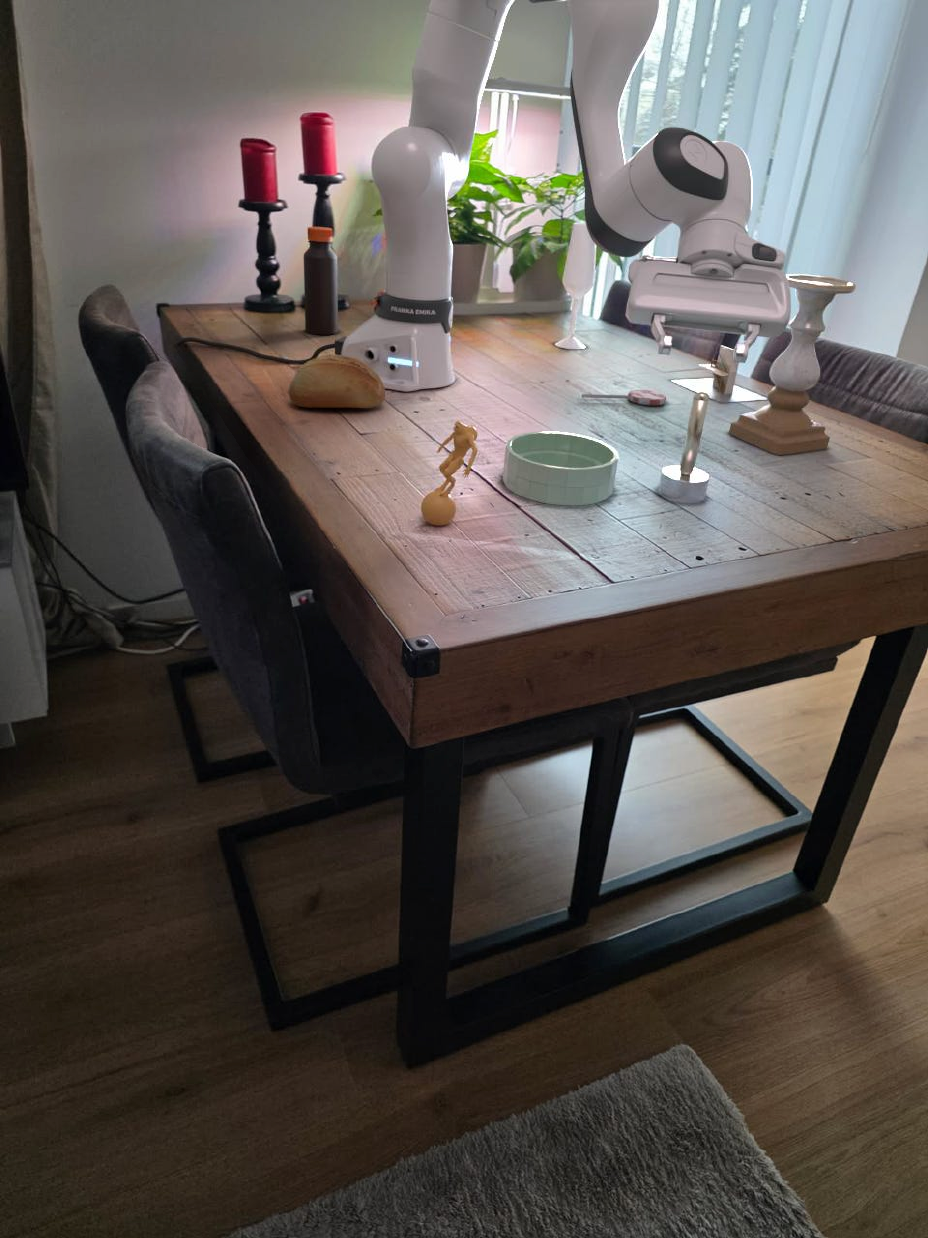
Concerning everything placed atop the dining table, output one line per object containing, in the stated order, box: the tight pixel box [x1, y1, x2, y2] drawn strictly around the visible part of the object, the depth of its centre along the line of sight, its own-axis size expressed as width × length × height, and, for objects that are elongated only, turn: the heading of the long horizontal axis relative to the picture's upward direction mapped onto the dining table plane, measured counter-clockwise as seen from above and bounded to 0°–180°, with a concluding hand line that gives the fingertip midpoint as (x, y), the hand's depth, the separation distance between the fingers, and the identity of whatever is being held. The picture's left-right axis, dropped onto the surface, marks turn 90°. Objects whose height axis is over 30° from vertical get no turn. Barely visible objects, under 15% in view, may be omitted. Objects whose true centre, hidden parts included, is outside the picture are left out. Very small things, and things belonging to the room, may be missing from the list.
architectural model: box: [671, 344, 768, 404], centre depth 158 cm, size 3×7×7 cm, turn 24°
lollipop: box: [581, 389, 667, 406], centre depth 148 cm, size 7×1×15 cm
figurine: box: [420, 420, 478, 527], centre depth 95 cm, size 8×6×12 cm
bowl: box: [502, 431, 619, 507], centre depth 110 cm, size 14×14×5 cm
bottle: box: [303, 226, 339, 336], centre depth 175 cm, size 7×7×20 cm
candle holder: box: [728, 274, 857, 456], centre depth 128 cm, size 11×11×24 cm
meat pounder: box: [658, 391, 710, 504], centre depth 108 cm, size 6×6×14 cm
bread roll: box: [288, 354, 386, 409], centre depth 132 cm, size 10×15×8 cm, turn 97°
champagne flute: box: [554, 222, 597, 350], centre depth 178 cm, size 7×7×24 cm
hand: (702, 355), depth 107 cm, fingers open, 8 cm apart
